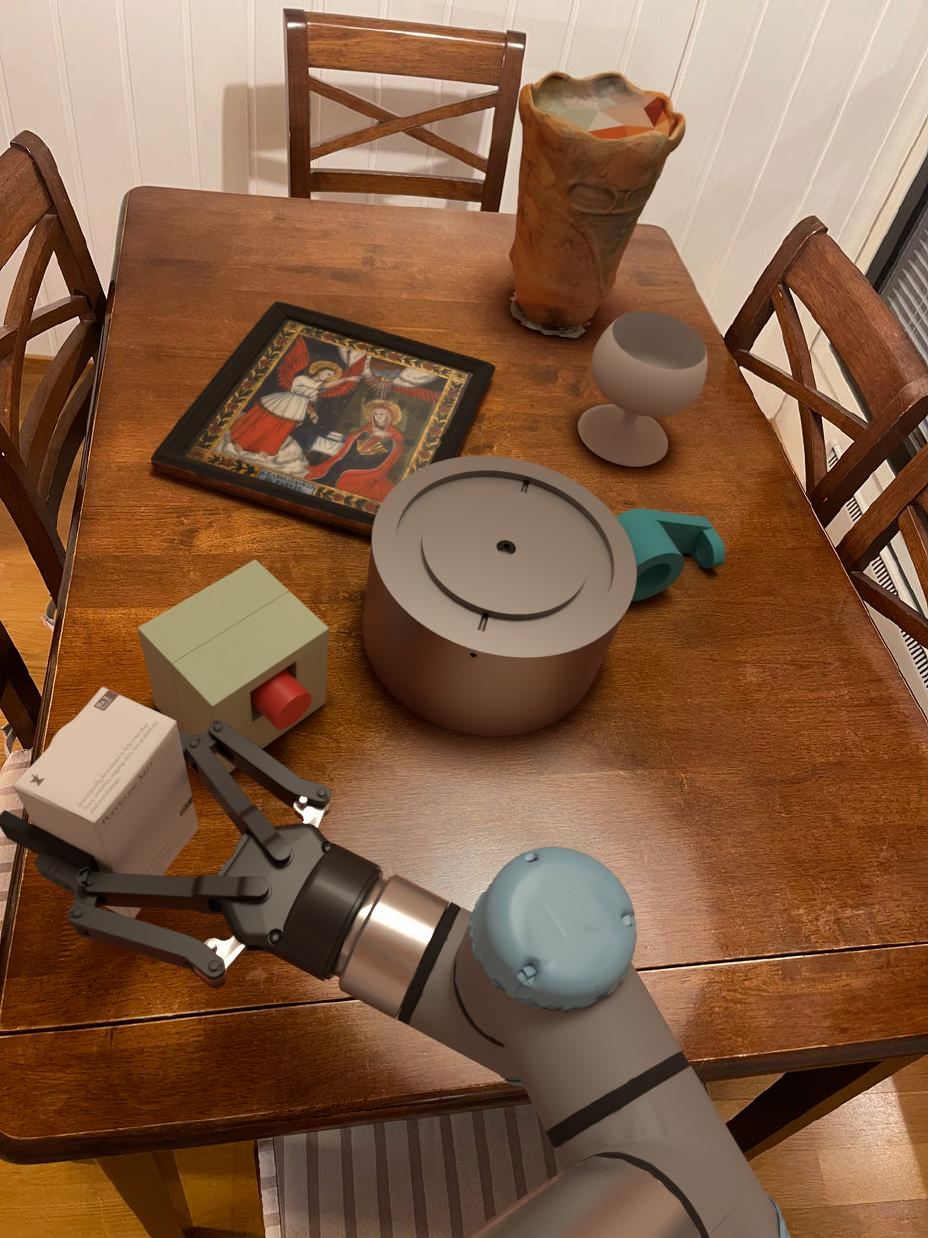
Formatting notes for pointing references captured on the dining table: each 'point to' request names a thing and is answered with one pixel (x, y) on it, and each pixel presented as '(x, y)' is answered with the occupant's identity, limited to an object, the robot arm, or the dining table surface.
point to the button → (281, 700)
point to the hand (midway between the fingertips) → (54, 769)
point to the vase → (582, 190)
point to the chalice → (642, 385)
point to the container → (493, 593)
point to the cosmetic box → (114, 788)
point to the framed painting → (324, 416)
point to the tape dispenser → (668, 546)
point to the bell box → (233, 654)
